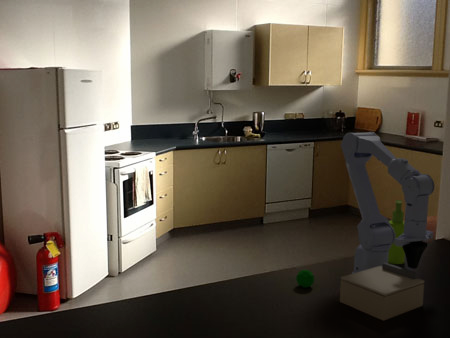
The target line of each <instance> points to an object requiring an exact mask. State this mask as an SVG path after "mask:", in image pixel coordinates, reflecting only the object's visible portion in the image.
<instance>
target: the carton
mask: <svg viewBox="0 0 450 338" xmlns="http://www.w3.org/2000/svg"><path fill="white" fill-rule="evenodd" d="M339 288H340V289H339V290H340V292H339V302H340V303H342V304H345V305H347V306H349V307H352V308H353V309H355V310H358V311H360V312H362V313H364V314H368V315H369V316H372V317H374V318H377V319H379V320H381V321H386V320H389V319H391V318H395V317H397V316H400V315H402V314H405V313H408V312H410V311H412V310H415V309H418V308H420V307H423V304H424V291H425V283H422V284H419V285H416V286H413V287H410V288H407V289H404V290H401V291H398V292H395V293H392V294H390V295H387V296H384V295H381V294H379V293H376V292H373V291H371V290H368V289H366V288H363V287H361V286H358V285H355V284H353V283H350V282H348V281H345V280H342V279H340V286H339Z"/></svg>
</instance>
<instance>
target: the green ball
mask: <svg viewBox="0 0 450 338" xmlns="http://www.w3.org/2000/svg"><path fill="white" fill-rule="evenodd" d="M296 274H297V275H296V276H295V277H296V278H295V279H296V283H297V284H298V286H300V287H301V288H303V289H306V288H310V287H312V285H313V284H314V282H315V275H314V274H313V272H312V271H311V270H308V269H302V270H299V271H298V273H296Z"/></svg>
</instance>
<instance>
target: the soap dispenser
mask: <svg viewBox="0 0 450 338" xmlns="http://www.w3.org/2000/svg"><path fill="white" fill-rule="evenodd" d="M402 204H403V200H398V199H396V200H395V210H393V211H392V217H391V218H392V219H390V220H389V223H390V225H391V226H392V228H393V229H394V231H395V234H396V238H398V237H399V236H401V235H402V234H403V233H404V221H405V220H404V216H405V211H403V210H402V206H403V205H402ZM405 260H406V255H405V252H404V250H403V248H402V247H399V246H396V245H395V242H394V243H393V244H392V245H391V248H390V249H389V254H388V264H391V265H403V264H405Z"/></svg>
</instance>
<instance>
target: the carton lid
mask: <svg viewBox="0 0 450 338" xmlns="http://www.w3.org/2000/svg"><path fill="white" fill-rule="evenodd" d="M340 280H345V281H348V282H350V283H353V284H355V285H358V286H361V287H363V288H366V289H368V290H371V291H373V292H376V293H379V294H381V295H384V296H387V295H390V294H392V293H395V292H398V291H401V290H404V289H407V288H410V287H413V286H416V285H419V284H422V283H423V284H425V280H424V279H420V278H418V272H415V271H412V270H410V269H406V268H403V267H400V266H397V265H395V264H392V263H383V265H382V266H378V267H374V268H371V269H367V270H364V271H360V272H357V273H353V274H352V273H350V274H348V275H343V276H340Z"/></svg>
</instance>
